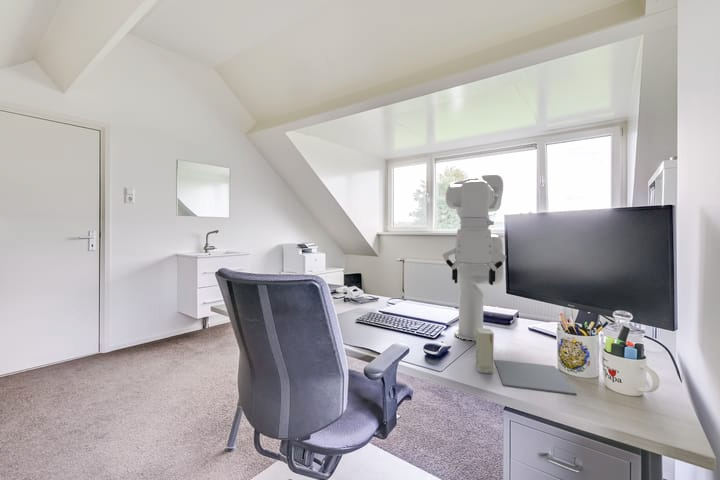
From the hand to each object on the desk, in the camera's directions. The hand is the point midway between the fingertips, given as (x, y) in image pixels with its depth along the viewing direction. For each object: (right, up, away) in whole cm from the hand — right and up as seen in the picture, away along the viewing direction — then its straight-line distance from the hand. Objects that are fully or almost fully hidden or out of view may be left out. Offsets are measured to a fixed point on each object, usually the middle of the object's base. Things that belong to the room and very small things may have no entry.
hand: (473, 283), depth 92 cm
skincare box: (+6, -28, +8) cm, 30 cm away
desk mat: (+19, -28, +4) cm, 34 cm away
